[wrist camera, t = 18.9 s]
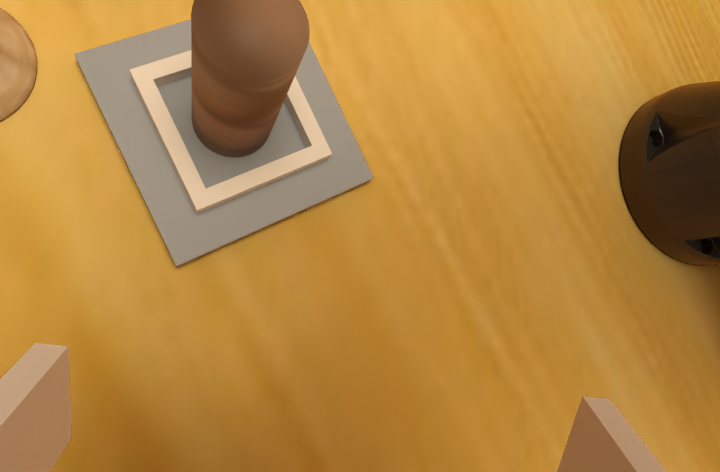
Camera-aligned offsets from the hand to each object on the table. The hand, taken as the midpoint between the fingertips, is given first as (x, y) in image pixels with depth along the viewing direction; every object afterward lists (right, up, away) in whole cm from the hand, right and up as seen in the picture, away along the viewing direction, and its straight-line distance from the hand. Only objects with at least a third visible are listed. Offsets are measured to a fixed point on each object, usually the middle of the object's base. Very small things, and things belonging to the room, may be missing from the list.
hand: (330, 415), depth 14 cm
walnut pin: (-7, +12, +21) cm, 25 cm away
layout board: (-8, +12, +22) cm, 26 cm away
